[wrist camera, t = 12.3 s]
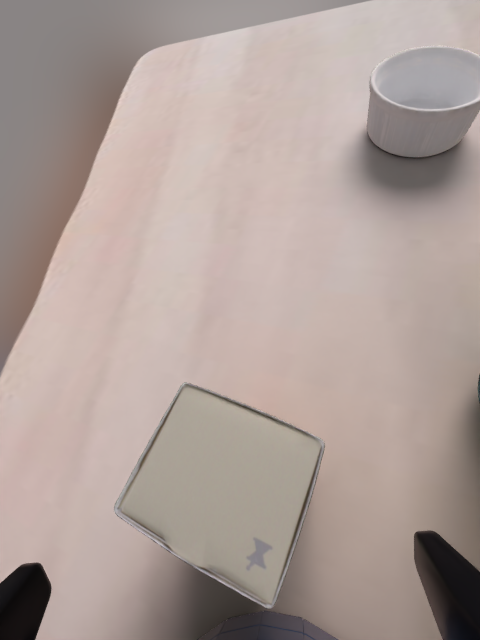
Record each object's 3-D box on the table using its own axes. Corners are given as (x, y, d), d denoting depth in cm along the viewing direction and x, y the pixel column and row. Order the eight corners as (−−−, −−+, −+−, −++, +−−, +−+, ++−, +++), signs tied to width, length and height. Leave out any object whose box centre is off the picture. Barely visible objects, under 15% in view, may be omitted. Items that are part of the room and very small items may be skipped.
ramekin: (347, 112, 31) (355, 60, 27) (442, 90, 30) (464, 33, 26) (380, 174, 27) (395, 123, 23) (491, 149, 26) (524, 92, 22)
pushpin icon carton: (316, 463, 18) (338, 443, 9) (287, 549, 16) (279, 628, 7) (232, 423, 20) (181, 374, 11) (198, 499, 18) (105, 515, 9)
